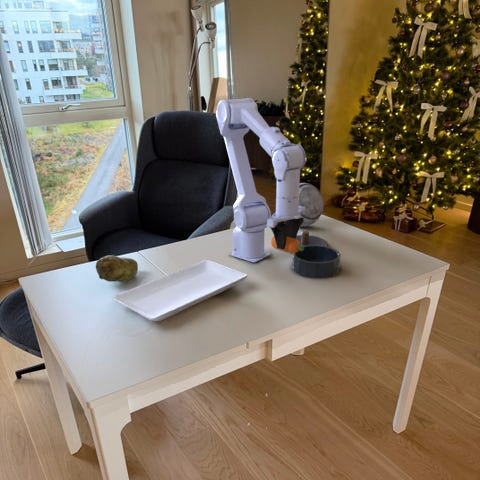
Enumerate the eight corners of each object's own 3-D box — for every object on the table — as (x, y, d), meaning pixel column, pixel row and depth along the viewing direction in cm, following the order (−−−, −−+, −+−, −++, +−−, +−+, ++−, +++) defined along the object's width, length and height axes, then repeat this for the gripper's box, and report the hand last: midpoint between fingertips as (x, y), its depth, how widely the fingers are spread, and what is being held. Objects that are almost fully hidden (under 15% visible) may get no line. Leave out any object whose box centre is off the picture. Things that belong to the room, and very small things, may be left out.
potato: (148, 278, 124) (145, 251, 120) (106, 292, 117) (101, 264, 113) (133, 269, 129) (129, 243, 125) (92, 282, 122) (86, 255, 118)
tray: (112, 308, 110) (110, 295, 108) (207, 269, 129) (206, 258, 127) (154, 333, 99) (152, 319, 98) (249, 286, 119) (249, 274, 117)
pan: (287, 274, 125) (287, 259, 123) (298, 257, 135) (299, 243, 133) (334, 280, 121) (336, 265, 119) (341, 262, 132) (343, 248, 129)
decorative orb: (297, 235, 152) (299, 191, 144) (272, 224, 162) (273, 182, 155) (329, 227, 159) (333, 184, 151) (303, 216, 169) (305, 176, 162)
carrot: (268, 249, 123) (268, 235, 121) (276, 245, 125) (277, 231, 123) (298, 258, 117) (298, 243, 115) (306, 253, 120) (307, 239, 118)
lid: (277, 251, 140) (278, 237, 137) (288, 236, 151) (289, 223, 149) (322, 256, 136) (323, 242, 133) (330, 240, 147) (331, 227, 145)
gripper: (283, 205, 107) (282, 257, 114) (316, 192, 116) (312, 241, 123) (260, 200, 111) (260, 251, 118) (293, 188, 120) (291, 236, 127)
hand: (285, 246), depth 121 cm, fingers closed on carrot, 4 cm apart
